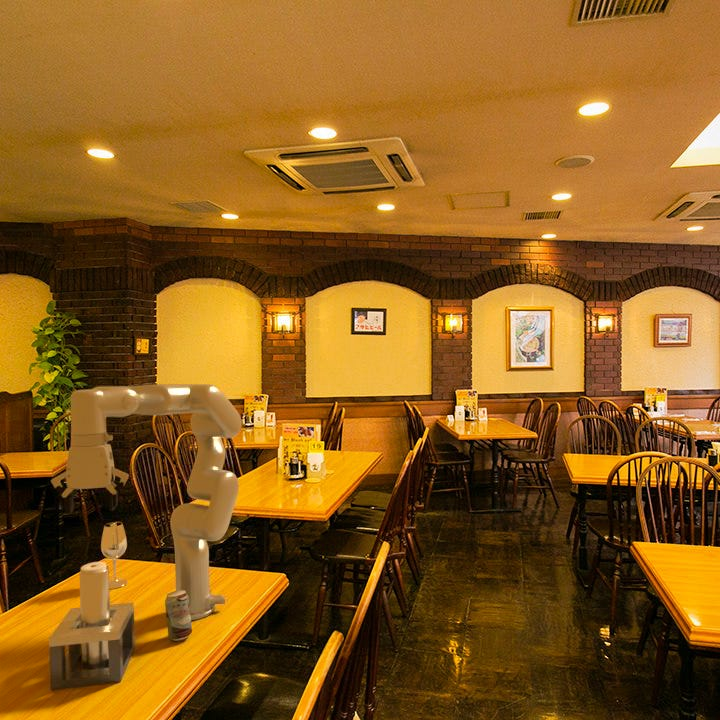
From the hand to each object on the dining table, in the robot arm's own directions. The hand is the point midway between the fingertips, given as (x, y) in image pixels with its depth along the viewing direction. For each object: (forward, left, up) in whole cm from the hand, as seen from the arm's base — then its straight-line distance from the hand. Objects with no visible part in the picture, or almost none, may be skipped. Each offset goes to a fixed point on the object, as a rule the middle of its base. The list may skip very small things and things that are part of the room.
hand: (91, 511), depth 135 cm
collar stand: (0, 0, -38) cm, 38 cm away
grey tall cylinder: (0, 0, -38) cm, 38 cm away
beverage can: (-18, -11, -38) cm, 44 cm away
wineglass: (+8, -52, -38) cm, 65 cm away
